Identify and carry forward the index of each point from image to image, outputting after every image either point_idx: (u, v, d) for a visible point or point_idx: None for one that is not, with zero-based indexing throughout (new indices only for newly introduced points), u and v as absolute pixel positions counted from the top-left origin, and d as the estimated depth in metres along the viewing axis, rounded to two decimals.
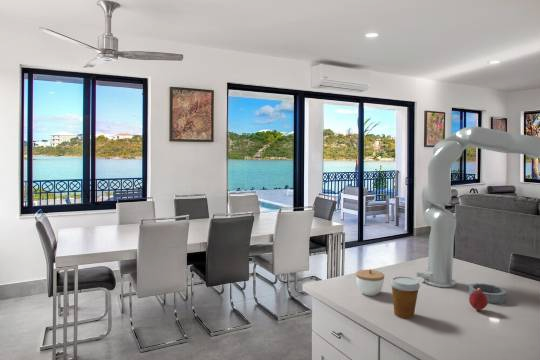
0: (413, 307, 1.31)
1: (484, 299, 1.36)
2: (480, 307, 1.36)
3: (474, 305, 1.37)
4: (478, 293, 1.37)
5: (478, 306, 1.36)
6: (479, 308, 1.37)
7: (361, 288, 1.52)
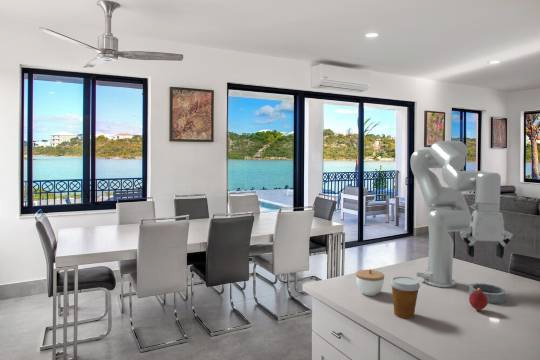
0: (413, 307, 1.31)
1: (484, 299, 1.36)
2: (480, 307, 1.36)
3: (474, 305, 1.37)
4: (478, 293, 1.37)
5: (478, 306, 1.36)
6: (479, 308, 1.37)
7: (361, 288, 1.52)
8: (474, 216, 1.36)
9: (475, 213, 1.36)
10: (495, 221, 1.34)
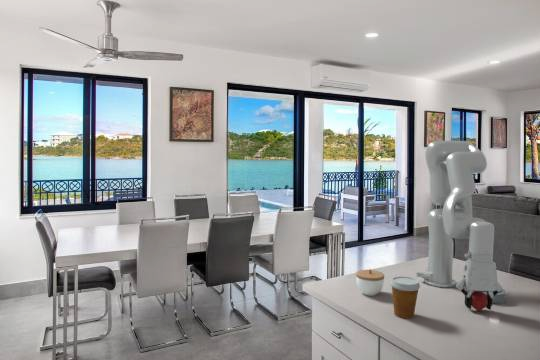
0: (413, 307, 1.31)
1: (484, 299, 1.36)
2: (480, 307, 1.36)
3: (474, 305, 1.37)
4: (478, 293, 1.37)
5: (478, 306, 1.36)
6: (479, 308, 1.37)
7: (361, 288, 1.52)
8: (467, 266, 1.36)
9: (468, 263, 1.36)
10: (488, 271, 1.35)
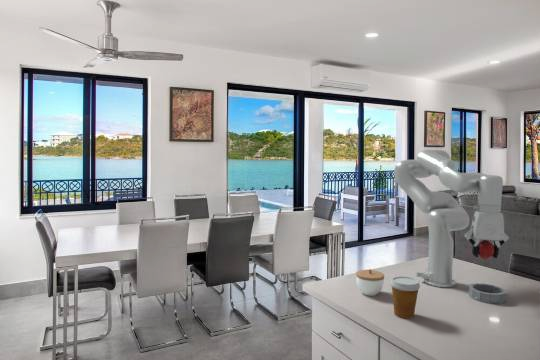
0: (413, 307, 1.31)
1: (490, 248, 1.44)
2: (487, 255, 1.44)
3: (481, 253, 1.45)
4: (485, 242, 1.45)
5: (485, 254, 1.44)
6: (486, 256, 1.45)
7: (361, 288, 1.52)
8: (476, 216, 1.44)
9: (477, 213, 1.44)
10: (495, 221, 1.42)
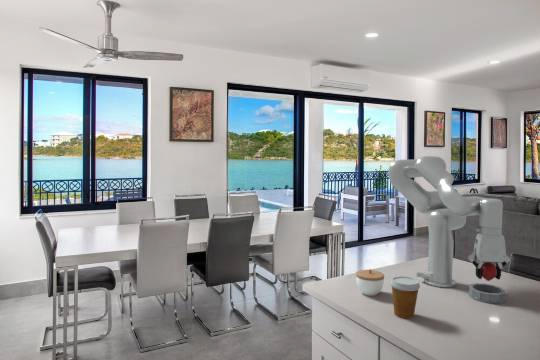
0: (413, 307, 1.31)
1: (493, 269, 1.47)
2: (490, 277, 1.48)
3: (484, 275, 1.49)
4: (488, 264, 1.49)
5: (488, 276, 1.48)
6: (489, 278, 1.48)
7: (361, 288, 1.52)
8: (478, 239, 1.48)
9: (479, 236, 1.48)
10: (497, 244, 1.46)
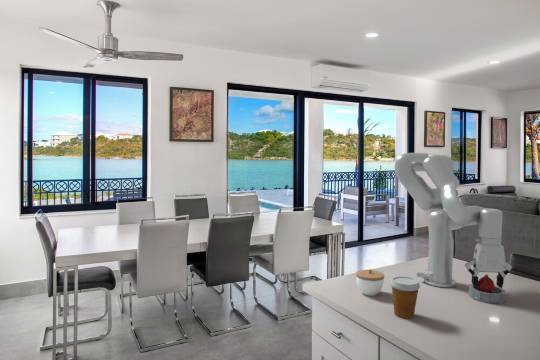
0: (413, 307, 1.31)
1: (491, 284, 1.48)
2: (488, 291, 1.49)
3: (482, 289, 1.49)
4: (486, 278, 1.49)
5: (486, 290, 1.49)
6: (487, 292, 1.49)
7: (361, 288, 1.52)
8: (478, 249, 1.49)
9: (478, 246, 1.48)
10: (497, 254, 1.47)
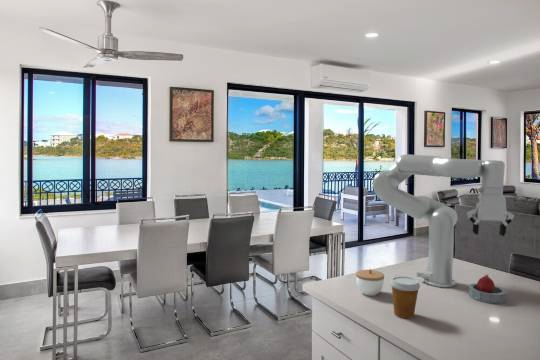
0: (413, 307, 1.31)
1: (491, 284, 1.48)
2: (488, 291, 1.49)
3: (482, 289, 1.49)
4: (486, 279, 1.49)
5: (486, 291, 1.48)
6: (487, 292, 1.49)
7: (361, 288, 1.52)
8: (479, 198, 1.55)
9: (480, 196, 1.55)
10: (498, 203, 1.53)
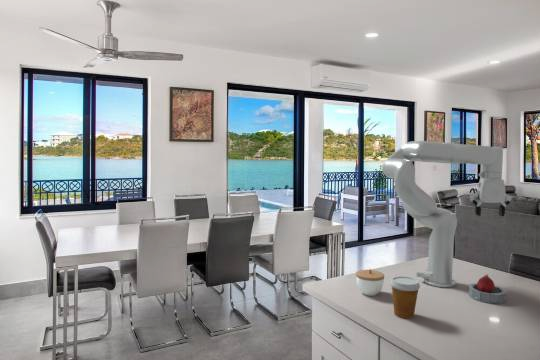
0: (413, 307, 1.31)
1: (491, 284, 1.48)
2: (488, 291, 1.49)
3: (482, 289, 1.49)
4: (486, 279, 1.49)
5: (486, 291, 1.48)
6: (487, 292, 1.49)
7: (361, 288, 1.52)
8: (481, 182, 1.68)
9: (482, 180, 1.68)
10: (498, 186, 1.66)
